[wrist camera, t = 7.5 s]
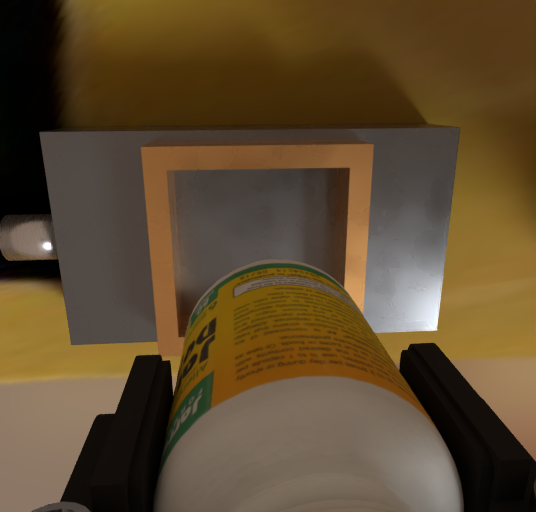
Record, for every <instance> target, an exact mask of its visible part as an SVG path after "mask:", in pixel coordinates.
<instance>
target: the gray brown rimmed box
mask: <svg viewBox="0 0 536 512" xmlns="http://www.w3.org/2000/svg"><path fill="white" fill-rule="evenodd" d="M39 133H40V140H41V147H42V153H43V160H44V167H45V173H46V180H47V186H48V193H49V200H50V206H51V213H52V214H33V215H6V216H5V217H4V218H3V219H2V221H1V223H0V249H1V251H2V254H3V255H4V257H5V258H6V259H7V260H46V259H58V260H59V266H60V273H61V280H62V286H63V293H64V300H65V306H66V313H67V320H68V326H69V333H70V339H71V345H84V344H109V343H133V342H158V350H159V355H161V357H163V356H182V351H183V345H184V339H185V334H186V330H187V326H188V322H189V319H190V316H191V314H192V312H193V310H194V308H195V306H196V304H197V302H198V301H199V299H200V298H201V297H202V296H203V295H204V293H205V292H206V291H207V290H208V289H209V288H210V287H211V286H212V285H213V284H215V283H216V282H217V281H218V280H219V279H221V278H222V277H224V276H225V275H227V274H228V273H230V272H232V271H234V270H235V269H237V268H240V267H242V266H245V265H248V264H250V263H253V262H256V261H261V260H268V259H284V260H293V261H298V262H302V263H305V264H308V265H311V266H314V267H316V268H318V269H320V270H322V271H324V272H325V273H327V274H328V275H330V276H331V277H333V278H334V279H335V280H336V281H337V282H338V283H340V284H341V285H342V286H343V288H344V289H345V290H346V291H347V292H348V293H349V295H350V296H351V297H352V299H353V300H354V302H355V303H356V305H357V306H358V308H359V309H360V311H361V312H362V314H363V316H364V317H365V319H366V320H367V322H368V323H369V325H370V326H371V328H372V330H373V331H374V333H382V332H407V331H432V330H437V324H438V315H439V306H440V298H441V289H442V281H443V272H444V263H445V255H446V246H447V238H448V229H449V220H450V212H451V203H452V195H453V186H454V177H455V169H456V160H457V152H458V143H459V134H460V128H458V127H450V126H442V125H434V124H348V125H244V126H140V127H66V128H60V129H54V130H48V131H43V132H39Z"/></svg>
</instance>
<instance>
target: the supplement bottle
mask: <svg viewBox="0 0 536 512" xmlns="http://www.w3.org/2000/svg"><path fill="white" fill-rule="evenodd" d="M152 512H464V498H463V491H462V486H461V481H460V478H459V474H458V471H457V468H456V465H455V463H454V460H453V458H452V456H451V454H450V452H449V450H448V448H447V446H446V444H445V442H444V440H443V439H442V437H441V435H440V433H439V432H438V430H437V428H436V426H435V425H434V423H433V421H432V420H431V418H430V416H429V415H428V414H427V412H426V411H425V409H424V408H423V406H422V405H421V403H420V402H419V400H418V399H417V397H416V396H415V394H414V393H413V391H412V390H411V388H410V386H409V385H408V383H407V382H406V380H405V379H404V377H403V376H402V375H401V373H400V372H399V370H398V368H397V367H396V365H395V364H394V362H393V361H392V359H391V358H390V356H389V355H388V353H387V351H386V350H385V348H384V347H383V345H382V344H381V342H380V341H379V339H378V338H377V336H376V334H375V333H374V331H373V330H372V328H371V326H370V325H369V323H368V322H367V320H366V319H365V317H364V316H363V314H362V312H361V311H360V309H359V308H358V306H357V305H356V303H355V302H354V300H353V299H352V297H351V296H350V295H349V293H348V292H347V291H346V290H345V289H344V288H343V286H342V285H341V284H340V283H338V282H337V281H336V280H335V279H334V278H333V277H331V276H330V275H328V274H327V273H325V272H324V271H322V270H320V269H318V268H316V267H314V266H311V265H308V264H305V263H302V262H298V261H293V260H284V259H268V260H261V261H256V262H253V263H250V264H248V265H245V266H242V267H240V268H237V269H235V270H234V271H232V272H230V273H228V274H227V275H225V276H224V277H222V278H221V279H219V280H218V281H217V282H216V283H215V284H213V285H212V286H211V287H210V288H209V289H208V290H207V291H206V292H205V293H204V295H203V296H202V297H201V298H200V299H199V301H198V302H197V304H196V306H195V308H194V310H193V312H192V314H191V316H190V319H189V322H188V326H187V330H186V334H185V339H184V345H183V351H182V356H181V361H180V366H179V371H178V376H177V382H176V387H175V391H174V395H173V401H172V405H171V412H170V415H169V421H168V425H167V430H166V436H165V442H164V446H163V451H162V456H161V461H160V467H159V472H158V476H157V481H156V486H155V490H154V497H153V510H152Z"/></svg>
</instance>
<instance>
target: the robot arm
mask: <svg viewBox="0 0 536 512" xmlns="http://www.w3.org/2000/svg"><path fill="white" fill-rule="evenodd" d="M399 372H400V373H401V375H402V376H403V377H404V379H405V380H406V382H407V383H408V385H409V386H410V388H411V390H412V391H413V393H414V394H415V396H416V397H417V399H418V400H419V402H420V403H421V405H422V406H423V408H424V409H425V411H426V412H427V414H428V415H429V416H430V418H431V420H432V421H433V423H434V425H435V426H436V428H437V430H438V432H439V433H440V435H441V437H442V439H443V440H444V442H445V444H446V446H447V448H448V450H449V452H450V454H451V456H452V458H453V460H454V463H455V465H456V468H457V471H458V474H459V478H460V481H461V486H462V491H463V498H464V512H536V461H535V460H534V459H533V458H532V457H531V455H530V454H529V453H528V452H527V451H526V449H525V448H524V447H523V446H522V445H521V444H520V442H519V441H518V440H517V439H516V438H515V436H514V435H513V434H512V433H511V432H510V431H509V429H508V428H507V427H506V426H505V425H504V423H503V422H502V421H501V420H500V419H499V418H498V416H497V415H496V414H495V413H494V412H493V410H492V409H491V408H490V407H489V406H488V405H487V404H486V402H485V401H484V400H483V399H482V398H481V397H480V396H479V395H478V394H477V393H476V391H475V390H473V388H472V387H471V386H470V384H469V383H468V382H467V381H466V379H465V378H464V377H463V376H462V375H461V373H460V372H459V371H458V370H457V369H456V368H455V366H454V365H453V364H452V363H451V362H450V360H449V359H448V358H447V357H446V356H445V354H444V353H443V352H442V351H441V350H440V348H439V347H438V346H437V345H436V344H435V343H420V344H410V345H409V347H408V350H403V351H402V353H401V358H400V369H399ZM172 388H173V387H172V374H171V363H170V360H168V361H162V357H161V355H141V356H136V358H135V360H134V363H133V366H132V368H131V371H130V374H129V377H128V379H127V382H126V385H125V388H124V391H123V393H122V396H121V399H120V402H119V404H118V407H117V410H116V413H115V414H100V415H98V416H97V417H96V418H95V420H94V422H93V424H92V427H91V429H90V432H89V434H88V436H87V439H86V441H85V443H84V446H83V448H82V451H81V453H80V455H79V458H78V460H77V462H76V465H75V467H74V470H73V472H72V474H71V477H70V479H69V482H68V484H67V486H66V489H65V491H64V493H63V496H62V498H61V501H60V502H59V503H53V504H48V505H45V506H43V507H40V508H38V509H35V510H33V511H32V512H152V510H153V497H154V490H155V486H156V481H157V476H158V472H159V467H160V461H161V456H162V451H163V446H164V442H165V436H166V430H167V425H168V421H169V415H170V412H171V405H172V401H173V389H172Z"/></svg>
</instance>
